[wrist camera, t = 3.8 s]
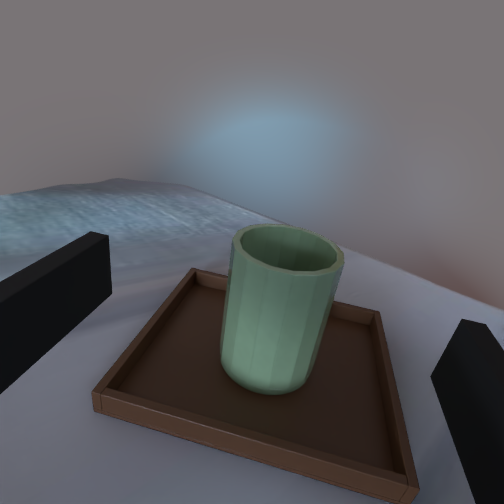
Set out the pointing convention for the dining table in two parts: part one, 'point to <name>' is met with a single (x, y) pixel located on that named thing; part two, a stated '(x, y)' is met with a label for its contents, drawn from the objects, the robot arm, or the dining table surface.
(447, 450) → the dining table surface
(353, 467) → the tray
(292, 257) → the cup
